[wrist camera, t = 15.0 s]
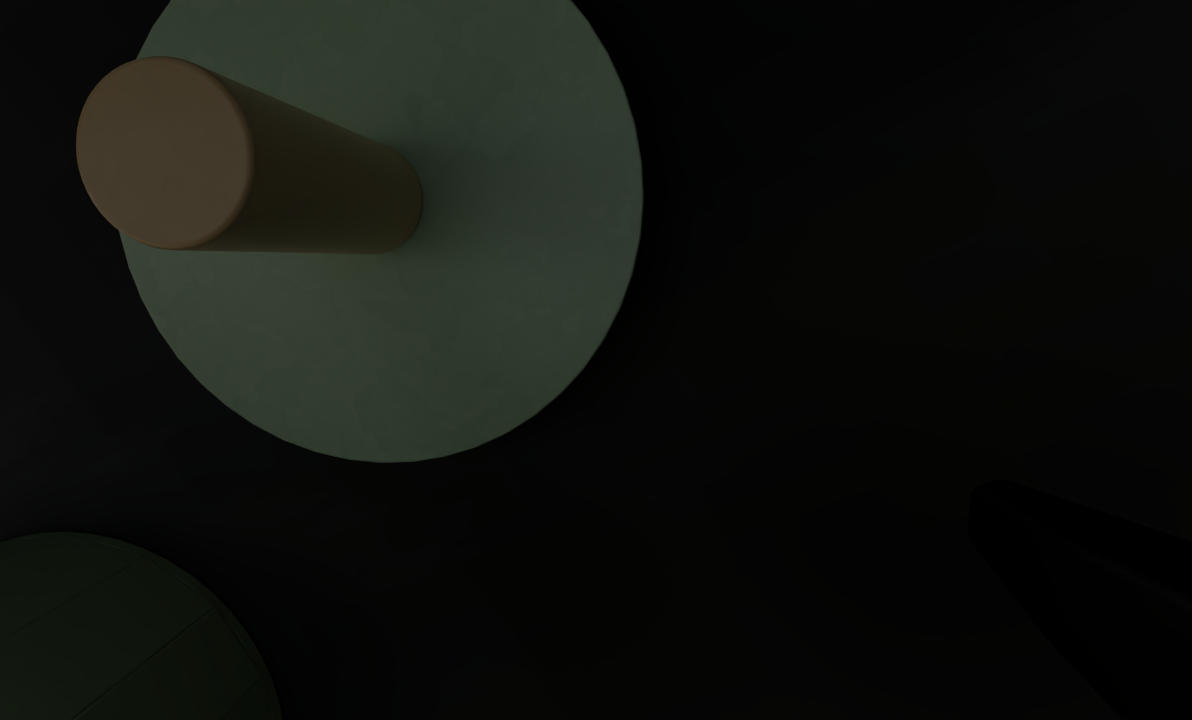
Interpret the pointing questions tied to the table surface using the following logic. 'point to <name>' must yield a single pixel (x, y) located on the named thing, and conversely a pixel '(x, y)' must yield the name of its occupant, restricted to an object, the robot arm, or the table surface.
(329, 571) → the table surface
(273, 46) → the lid
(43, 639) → the tin
